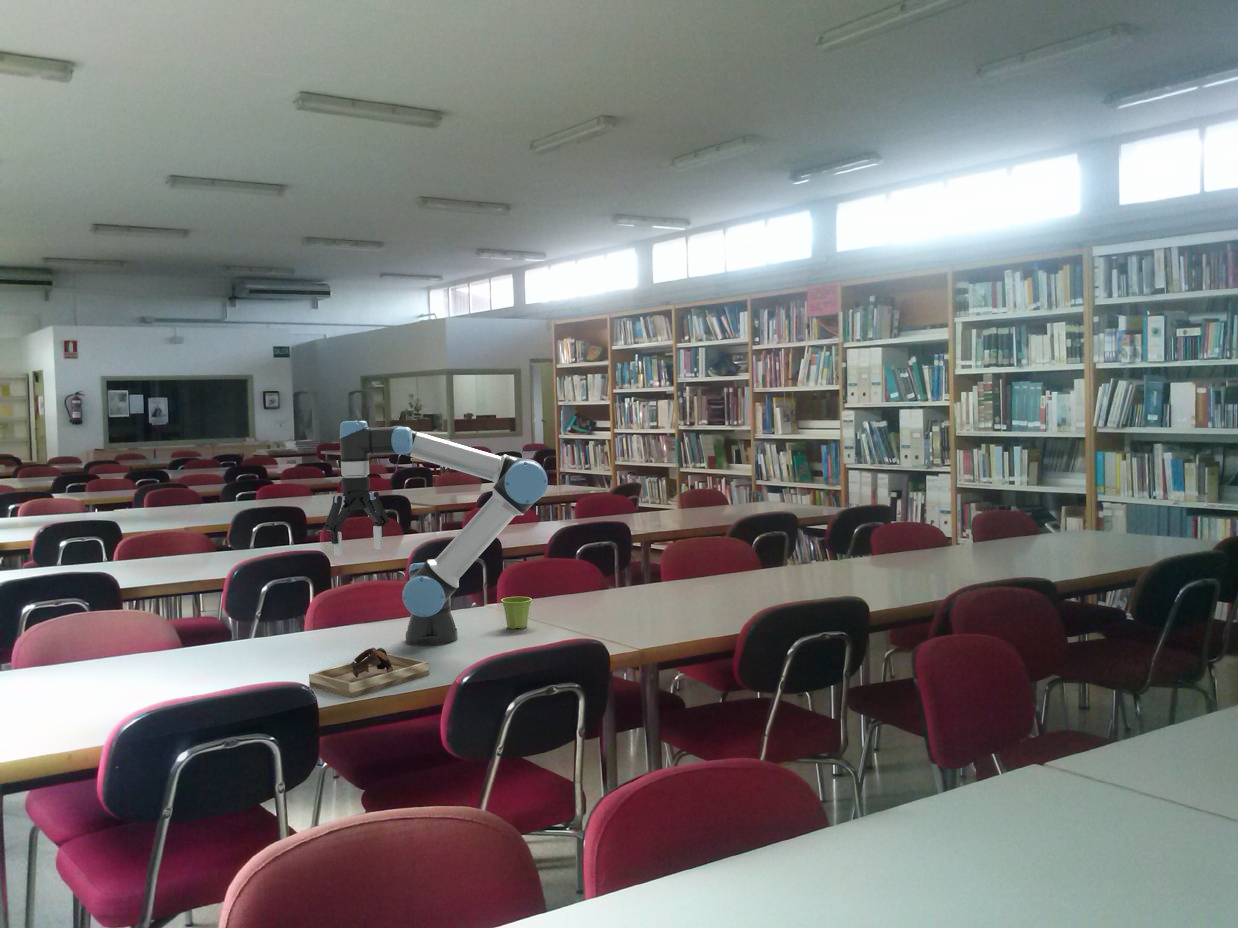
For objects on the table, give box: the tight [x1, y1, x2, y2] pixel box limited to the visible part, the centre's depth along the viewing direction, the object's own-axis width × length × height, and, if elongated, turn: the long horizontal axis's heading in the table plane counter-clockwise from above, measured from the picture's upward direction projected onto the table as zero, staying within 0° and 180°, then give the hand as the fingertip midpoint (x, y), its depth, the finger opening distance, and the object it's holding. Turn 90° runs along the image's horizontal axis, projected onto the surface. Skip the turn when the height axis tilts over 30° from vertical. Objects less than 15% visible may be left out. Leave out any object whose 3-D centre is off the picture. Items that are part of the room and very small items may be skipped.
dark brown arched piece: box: [350, 647, 393, 677], centre depth 248 cm, size 12×10×8 cm
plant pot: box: [500, 596, 533, 630], centre depth 305 cm, size 9×9×9 cm
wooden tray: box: [308, 652, 430, 698], centre depth 249 cm, size 24×17×3 cm
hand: (358, 552), depth 274 cm, fingers open, 13 cm apart
